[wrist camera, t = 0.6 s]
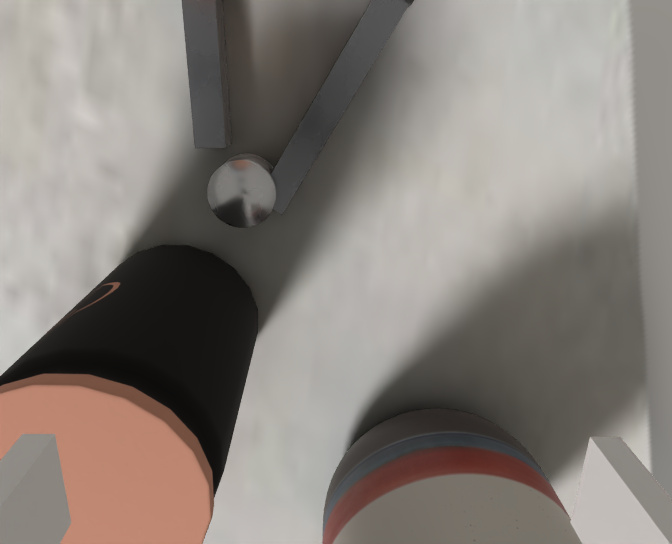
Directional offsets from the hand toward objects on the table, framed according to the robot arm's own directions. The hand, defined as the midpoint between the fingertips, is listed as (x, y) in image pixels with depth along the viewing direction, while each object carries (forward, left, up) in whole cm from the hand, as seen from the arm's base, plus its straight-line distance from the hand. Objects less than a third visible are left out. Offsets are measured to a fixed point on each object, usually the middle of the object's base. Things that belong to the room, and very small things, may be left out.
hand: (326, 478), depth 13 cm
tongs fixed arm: (-13, -7, -24) cm, 28 cm away
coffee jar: (+6, -10, -24) cm, 27 cm away
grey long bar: (-10, 0, -24) cm, 26 cm away
